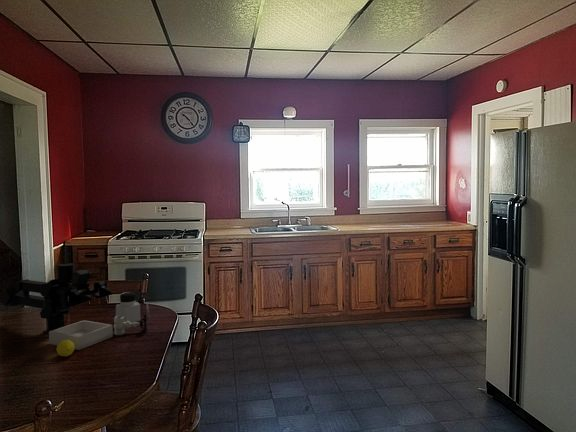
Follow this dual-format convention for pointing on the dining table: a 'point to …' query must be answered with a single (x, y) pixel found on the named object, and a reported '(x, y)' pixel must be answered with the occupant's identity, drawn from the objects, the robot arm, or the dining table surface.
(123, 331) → the valve
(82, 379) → the dining table surface
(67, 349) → the lemon
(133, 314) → the medicine bottle
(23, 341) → the dining table surface
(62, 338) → the walled box
